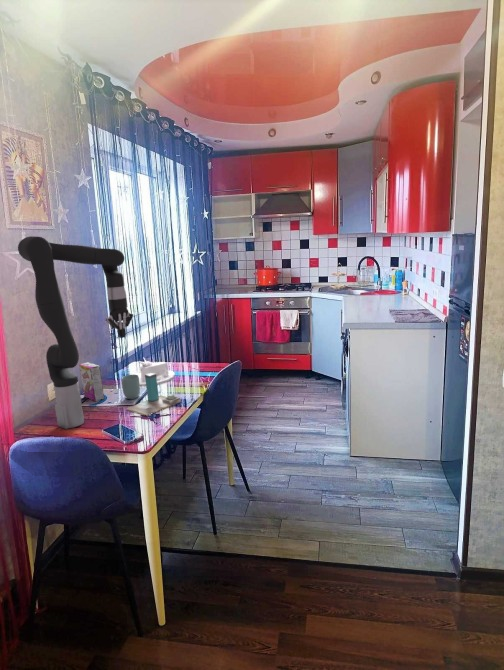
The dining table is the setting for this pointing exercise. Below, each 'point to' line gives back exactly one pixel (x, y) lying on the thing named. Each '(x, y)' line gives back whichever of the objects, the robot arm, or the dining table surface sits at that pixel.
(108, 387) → the dining table surface
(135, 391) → the cup
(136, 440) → the dining table surface
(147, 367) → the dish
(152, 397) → the teal rectangular block
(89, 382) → the candy bar box
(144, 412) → the clipboard
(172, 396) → the button
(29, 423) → the dining table surface
